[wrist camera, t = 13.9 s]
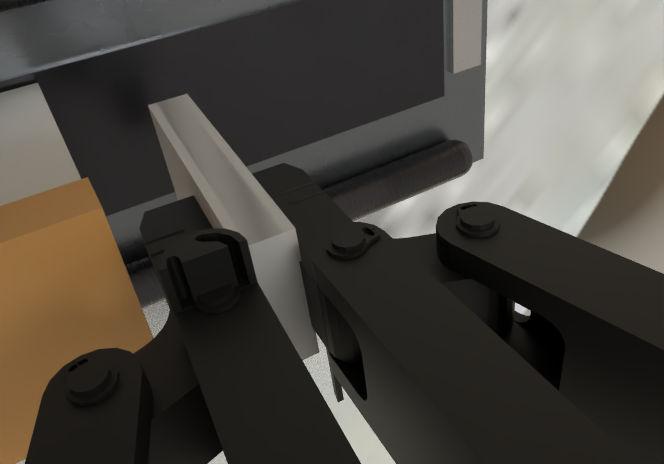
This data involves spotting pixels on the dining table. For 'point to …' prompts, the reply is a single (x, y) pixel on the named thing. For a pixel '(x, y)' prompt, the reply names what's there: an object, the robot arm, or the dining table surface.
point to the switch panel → (256, 94)
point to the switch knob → (51, 268)
